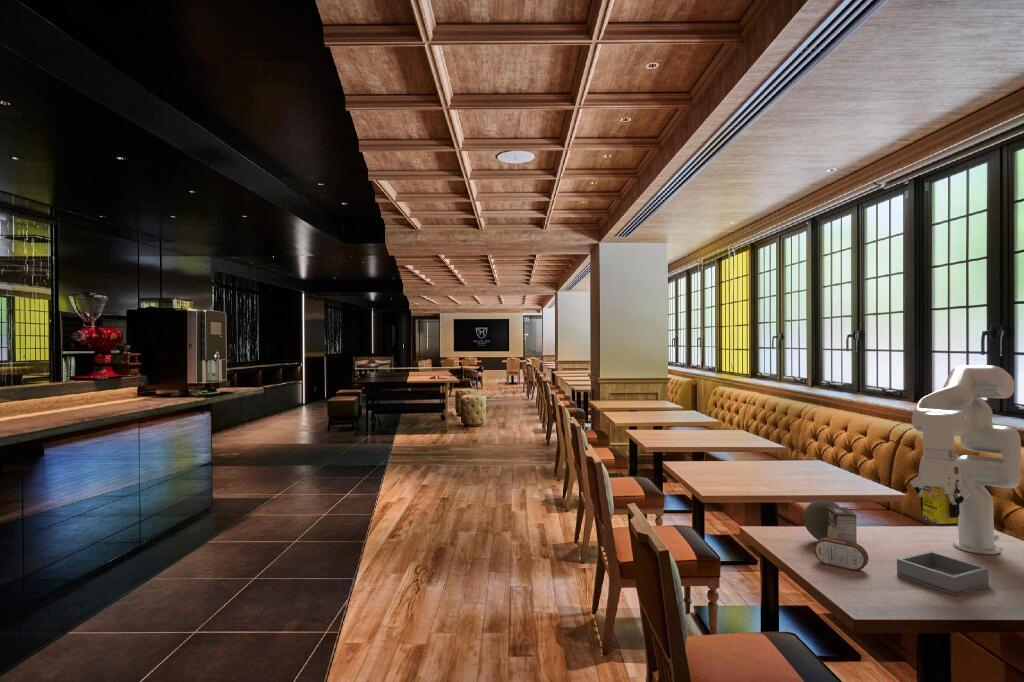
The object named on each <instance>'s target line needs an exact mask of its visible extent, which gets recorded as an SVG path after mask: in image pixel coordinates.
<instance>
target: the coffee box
mask: <svg viewBox="0 0 1024 682" xmlns="http://www.w3.org/2000/svg"><path fill="white" fill-rule="evenodd" d="M827 527H828V537H830V538H834V539H839V540H844V541H849V542H854V543H857V514H855V513H854V512H853V511H852V510H850V508H848V507H846V506H845V507H841V506H840V507H827ZM857 544H858V543H857Z"/></svg>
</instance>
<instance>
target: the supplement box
mask: <svg viewBox="0 0 1024 682" xmlns="http://www.w3.org/2000/svg"><path fill="white" fill-rule="evenodd" d="M955 490H956V489H955ZM950 504H952V503H951V501H950V499H949V497H948V496H947V495H946V494H944V492H943V489H940V488H935V487H930V486H924V487H923V511H922V519H923V521H924V522H927V523H929V524H932V525H935V526H936V527H953V526H955V527H956V526H958V517H956V518H950V513H949V505H950Z"/></svg>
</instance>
